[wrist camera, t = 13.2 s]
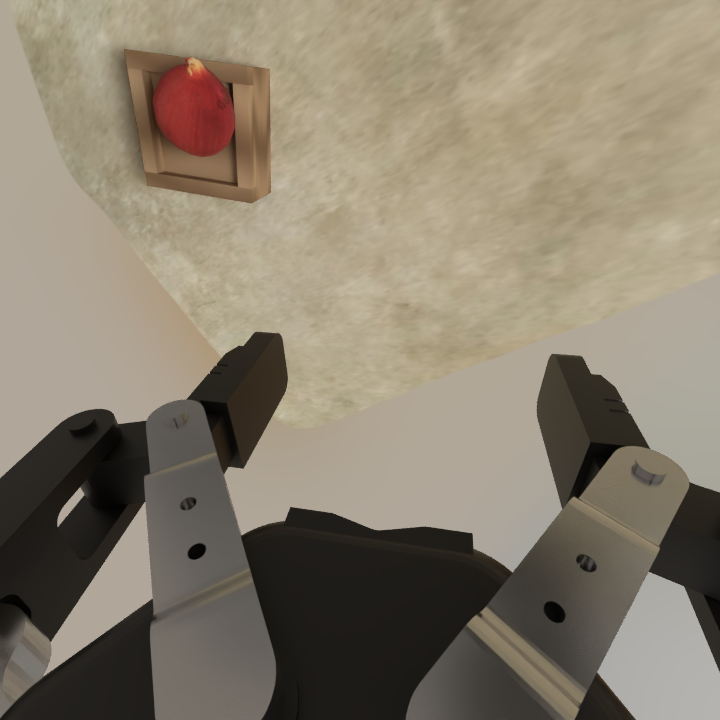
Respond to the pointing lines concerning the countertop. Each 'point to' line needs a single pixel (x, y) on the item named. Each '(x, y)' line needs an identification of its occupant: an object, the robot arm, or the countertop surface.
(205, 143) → the onion
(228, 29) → the countertop surface
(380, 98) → the countertop surface
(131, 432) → the robot arm
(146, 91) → the wooden box
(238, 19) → the countertop surface
